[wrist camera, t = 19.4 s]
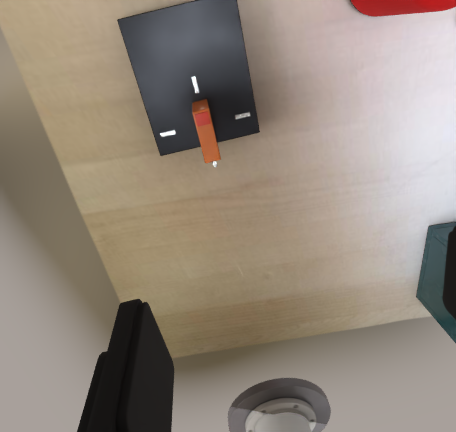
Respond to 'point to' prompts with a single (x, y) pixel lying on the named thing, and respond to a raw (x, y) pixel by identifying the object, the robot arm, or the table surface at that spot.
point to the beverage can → (401, 6)
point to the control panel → (191, 71)
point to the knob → (205, 131)
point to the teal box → (436, 276)
